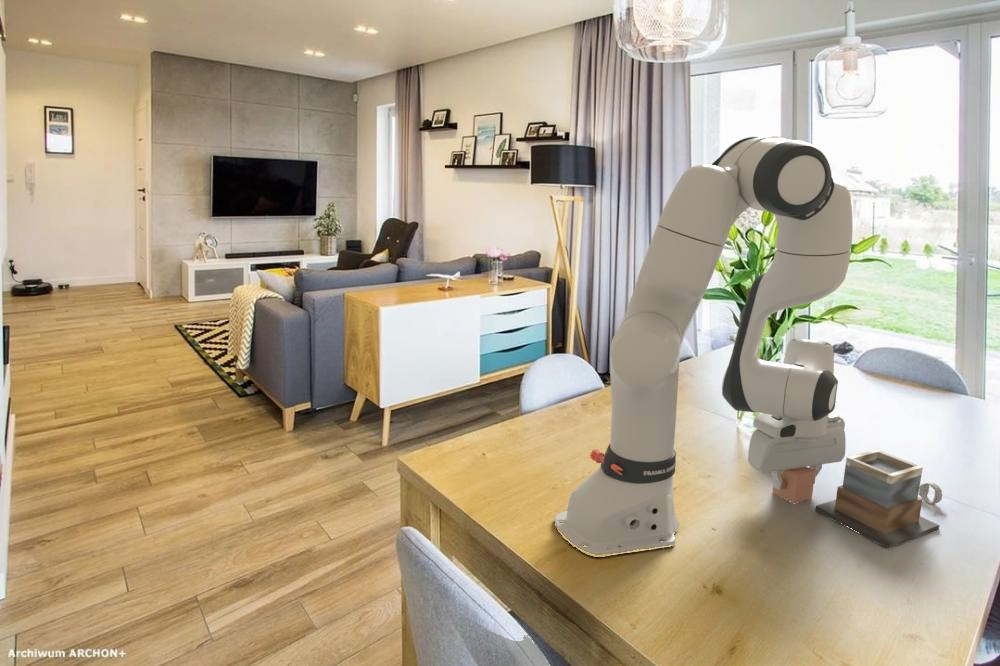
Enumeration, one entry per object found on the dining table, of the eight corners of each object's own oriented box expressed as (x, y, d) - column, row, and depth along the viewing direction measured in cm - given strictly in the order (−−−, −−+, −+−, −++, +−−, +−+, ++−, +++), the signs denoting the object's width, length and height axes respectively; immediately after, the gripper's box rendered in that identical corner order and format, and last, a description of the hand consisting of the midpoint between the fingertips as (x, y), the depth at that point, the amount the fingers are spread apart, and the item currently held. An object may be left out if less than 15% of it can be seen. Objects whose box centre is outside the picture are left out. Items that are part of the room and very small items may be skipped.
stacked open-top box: (888, 549, 102) (898, 486, 99) (815, 510, 114) (822, 454, 112) (938, 530, 108) (949, 470, 105) (863, 495, 120) (871, 441, 117)
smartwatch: (942, 506, 116) (945, 487, 115) (933, 507, 115) (936, 488, 114) (925, 497, 119) (928, 479, 118) (916, 499, 119) (919, 480, 118)
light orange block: (793, 504, 117) (797, 475, 115) (772, 492, 121) (775, 465, 120) (811, 498, 119) (815, 470, 117) (790, 488, 123) (793, 460, 122)
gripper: (832, 409, 122) (824, 472, 125) (746, 419, 116) (739, 485, 120) (858, 420, 116) (849, 486, 119) (768, 431, 111) (761, 500, 114)
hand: (793, 485), depth 119 cm, fingers open, 5 cm apart
